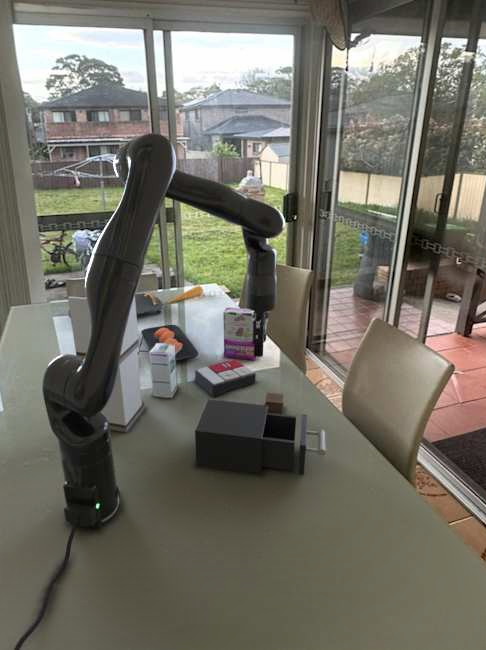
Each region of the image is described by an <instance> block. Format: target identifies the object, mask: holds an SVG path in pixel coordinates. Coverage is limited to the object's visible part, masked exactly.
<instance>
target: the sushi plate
mask: <svg viewBox="0 0 486 650" xmlns="http://www.w3.org/2000/svg"><path fill="white" fill-rule="evenodd" d="M141 336H142V337H141V340H140V342H139V350H140V351H139V352H138V355H140V353H149V352H150V351H151V349H152V348H153V347H154V346H155V345H156V343H167V344H173V345H175V358H176V362H179V361H185V360H188V359H189V360H190V359H193V358H196V357H198V356H199V352H198V350H197V348H196V347H195V346H194V344H193V343H192V342H191V340H189V338H188V337H187V335H186V334H185V333H184V331H183V330H182V329H181V328H180V327H179V326H178V325H176V324H165V325H160V326H154V327H153V326H152V327H148V328H144V329H142V330H141ZM143 340H144V341H145V343H146V345H147V347H148V348H149V350H142V349H141V347H142V343H143Z"/></svg>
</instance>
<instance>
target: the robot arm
mask: <svg viewBox="0 0 486 650" xmlns="http://www.w3.org/2000/svg"><path fill="white" fill-rule="evenodd" d="M176 153H177V152H176V150H175V147H174V145H173V143H172V142H171V140H170V139H169V138H168V137H167V136H165V135H164V134H162V133H159V132H148V133H144V134H140V135H139V136H136V137H135V138H133V139H130V140H129V141H127V142H125V143H124V144H122V145H121V146H120V147H119V148H118V149H117V151H116V152H115V154H114V157H113V169H114V172H115V174H116V176H117V178H118V180H119V181H120V182H121V183H122V184H123V185H124V190H123V194H122V197H121V200H120V202H119V204H118V206H117V208H116V210H115V211H114V213H113V215H112V216H111V218H110V219H109V221H108V222H107V224H106V226H104V229H103V230H102V232H101V234H100V236H99V238H98V239H97V242H96V244H95V246H94V248H93V250H92V255H91V257H90V260H89V263H88V267H87V271H86V274H85V278H84V292H85V298H86V300H87V305H88V310H89V315H90V322H91V334H90V341H89V345H88V349H87V353H86V356H85V358H82V357H79V356H76V354H70V353H67V354H62V355H59V356H57V357H55V358H54V359H53V360H52V361H50V363H49V364H48V365H47V366H46V369H45V372H44V374H43V378H42V386H41V387H42V396H43V401H44V406H45V411H46V414H47V417H48V422H49V426H50V429H51V432H52V433H53V434H54V436H55V437H56V439H57V443H58V448H59V454H60V460H61V465H62V472H63V477H64V484H63V485H62V487H63V493H64V498H65V499H64V500H65V506H64V508H63V512H64V519H65V522H66V523H69V524H70V525H71V526H72V528H71V530H70V533H69V536H68V540H67V543H66V549H65V555H64V558H63V561H62V563H61V565H60V566H59V568H58V569H57V571H56V573H55V574H54V575H53V577H52V578H51V580H50V582H49V583H48V586H47V588H46V590H45V593H44V596H43V600H42V604H41V608H40V611H39V613H38V615H37V617H36V619H35V620H34V622H33V623H32V624H31V626H30V627H28V629H27V630H26V631H25V633H24V634H23V635H21V637H20V638H19V640H18V642H17V643H16V645H15V647H14V649H13V650H21V648H22V646H23V644H24V643H25V641H26V640H28V638H29V637H30V636H31V635H32V634H33V632H35V630H36V629H37V628H38V626H39V625H40V623H41V622H42V620H43V618H44V615H45V613H46V610H47V608H48V603H49V599H50V595H51V592H52V589H53V587H54V586H55V583H56V582H57V580H58V578H59V577H60V576H61V575H62V573H63V571H64V570H65V568H66V566H67V564H68V562H69V559H70V556H71V548H72V544H73V540H74V537H75V534H76V531H77V528H78V527H84V528H91V529H94V530H95V529H96V530H100V529H101V527H102V526H103V525H104V524H106V523H107V522H109V521H110V520H112V519H113V518H114V517H115V516H116V514H117V513H118V511H119V508H120V498H121V494H120V489H119V487H118V485H117V478H116V470H115V469H116V468H115V461H114V454H113V445H112V444H113V443H112V436H111V429H110V427H109V422H108V419H107V418H106V416H105V415H104V414H103V413H102V412H101V411H102V410H103V409H104V408H105V406H106V405H107V403H108V401H109V399H110V397H111V395H112V392H113V389H114V385H115V381H116V375H117V370H118V365H119V359H120V354H121V349H122V343H123V338H124V334H125V330H126V326H127V322H128V318H129V315H130V311H131V307H132V304H133V300H134V297H135V294H137V292H138V287H139V284H140V281H141V279H142V274H143V270H144V267H145V264H146V263H145V262H146V258H147V255H148V251H149V248H150V244H151V242H152V238H153V234H154V232H155V231H154V230H155V227H156V224H157V221H158V217H159V214H160V211H161V208H162V206H163V203H164V201H165V199H166V198H167V199H170V200H172V201H174V202H178V203H181V204H184V205H186V206H189V207H192V208H195V209H197V210H200V211H201V212H204V213H205V214H208V215H210V216H212V217H215V218H216V219H219V220H220V221H224V222H226V223H228V224H231V225H234V226H238V227H241V233H242V234H241V235H242V238H243V242H244V246H245V251H246V254H247V256H246V263H247V264H246V276H245V277H246V278H245V307H246V309H250V310H253V311H255V312H254V313H253V316H252V322H253V328H252V332H253V340H252V342H253V344H254V356H256V357H257V358H258V357H259V358H263V356H264V343H265V342H266V341H267V332H268V331H267V330H268V325H269V322H270V321H269V319H270V312H271V311H273V310H274V309H276V307H277V298H278V297H277V295H278V277H277V276H278V275H277V267H278V265H277V263H278V257H277V255H278V254H277V250H276V248H274V247H273V246H272V245H271V244H270V243H269V239H275V238H277V237H279V236H280V235H281V234H282V232H283V231H284V229H285V225H286V221H285V218H284V217H285V216H284V215H283V213H282V212H281V211H280V210H279V209H278V208H277V207H275V206H272V205H270V204H268V203H265V202H262V201H260V200H257V199H254V198H251V197H250V196H247V195H246V194H244V193H243V192H241V191H239V190H237V189H235V188H234V187H231V186H229V185H227V184H226V183H223V182H220V181H218V180H214V179H211V178H208V177H202V176H198V175H194V174H190V173H188V172H186V171H182V170H180V169H178V168H177V154H176ZM256 335H258V338H256Z"/></svg>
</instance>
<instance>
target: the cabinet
mask: <svg viewBox="0 0 486 650" xmlns="http://www.w3.org/2000/svg"><path fill="white" fill-rule="evenodd" d="M267 413H268V406H266V405H265V404H256V403H255V404H254V403H246V402H236V401H229V400H228V401H226V400H217V399H207V401H206V404H205V406H204V408H203V411H202V413H201V416H200V418H199V420H198V422H197V424H196V428H195V430H194V439H195V440H194V441H195V465H196V467H199V468H200V467H201V468H206V469H207V468H208V469H215V470H222V471H229V472H237V473H245V474H252V475H258V476H259V475H260V476H261V475H262V470H263V467H262V466H261V465H262V438H263V433H264V427H265V422H266V417H267Z"/></svg>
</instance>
